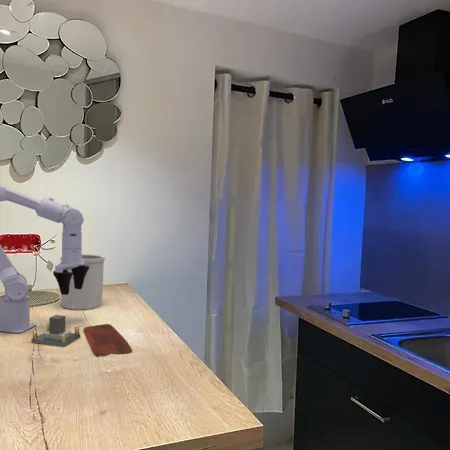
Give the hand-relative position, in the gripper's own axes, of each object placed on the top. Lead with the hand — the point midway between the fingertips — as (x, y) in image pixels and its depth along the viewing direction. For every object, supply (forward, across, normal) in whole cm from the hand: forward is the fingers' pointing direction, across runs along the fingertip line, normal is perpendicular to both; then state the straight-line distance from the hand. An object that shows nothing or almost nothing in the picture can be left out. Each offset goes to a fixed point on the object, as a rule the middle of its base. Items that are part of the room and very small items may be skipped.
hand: (71, 291), depth 145 cm
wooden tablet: (+11, -9, -16) cm, 22 cm away
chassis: (+10, -15, -4) cm, 19 cm away
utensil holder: (+10, +20, +8) cm, 24 cm away
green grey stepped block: (+9, -15, -5) cm, 18 cm away
